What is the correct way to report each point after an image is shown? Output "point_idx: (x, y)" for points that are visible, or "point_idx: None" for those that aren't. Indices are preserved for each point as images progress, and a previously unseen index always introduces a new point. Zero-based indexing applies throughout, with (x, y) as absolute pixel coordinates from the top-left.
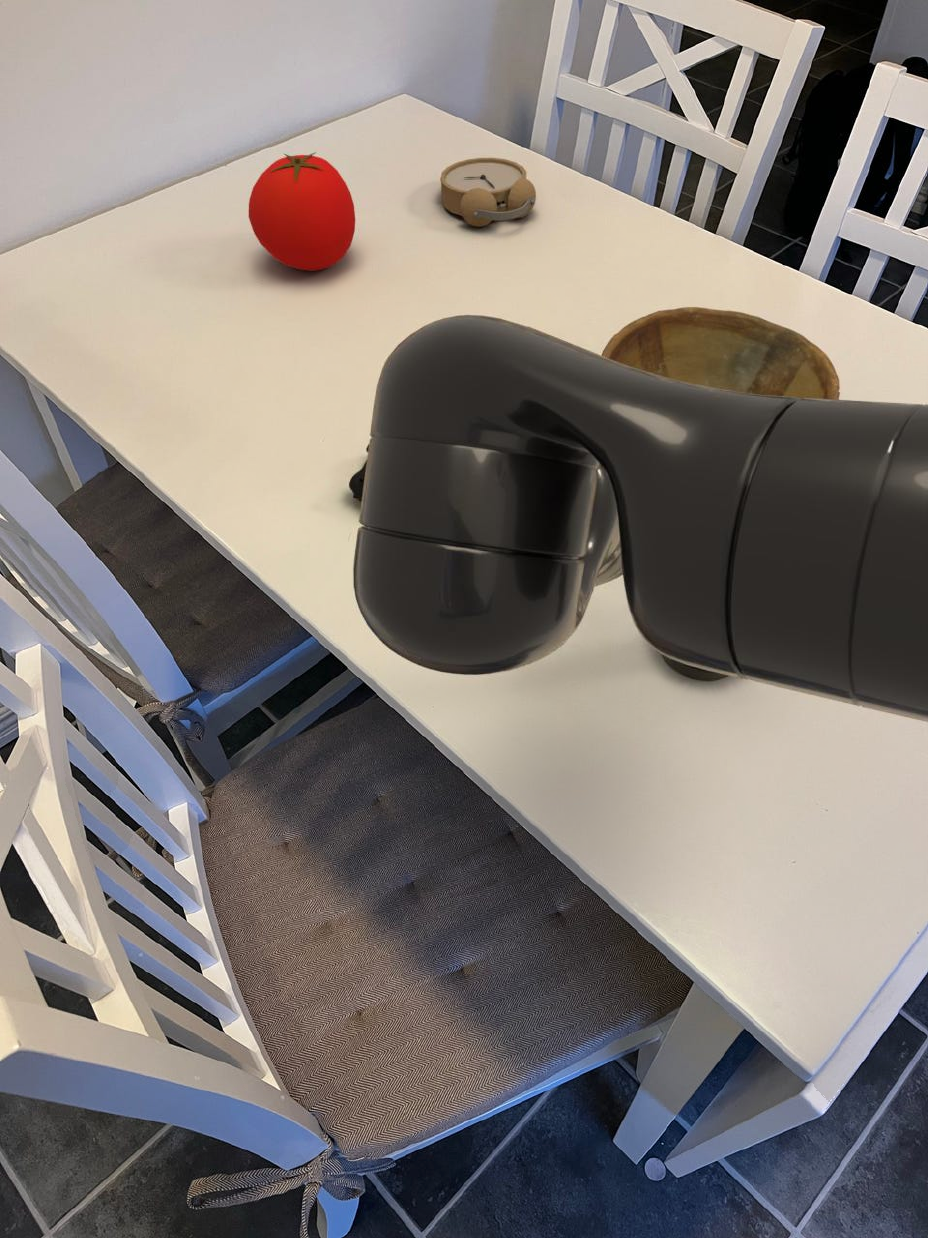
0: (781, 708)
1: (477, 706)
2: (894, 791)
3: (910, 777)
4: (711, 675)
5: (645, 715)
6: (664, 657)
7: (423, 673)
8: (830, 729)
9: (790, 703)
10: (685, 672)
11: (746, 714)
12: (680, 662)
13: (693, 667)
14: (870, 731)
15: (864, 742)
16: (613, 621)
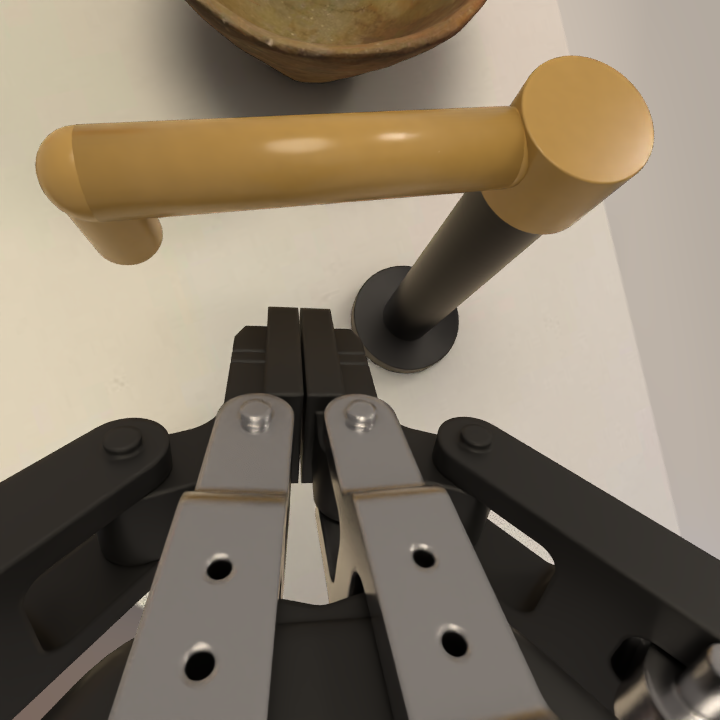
0: (509, 376)
1: None
2: (636, 436)
3: (645, 412)
4: (429, 366)
5: None
6: (367, 356)
7: None
8: (562, 384)
9: (516, 365)
10: (398, 371)
11: (477, 399)
12: (391, 364)
13: (408, 365)
14: (598, 370)
15: (596, 387)
16: None
